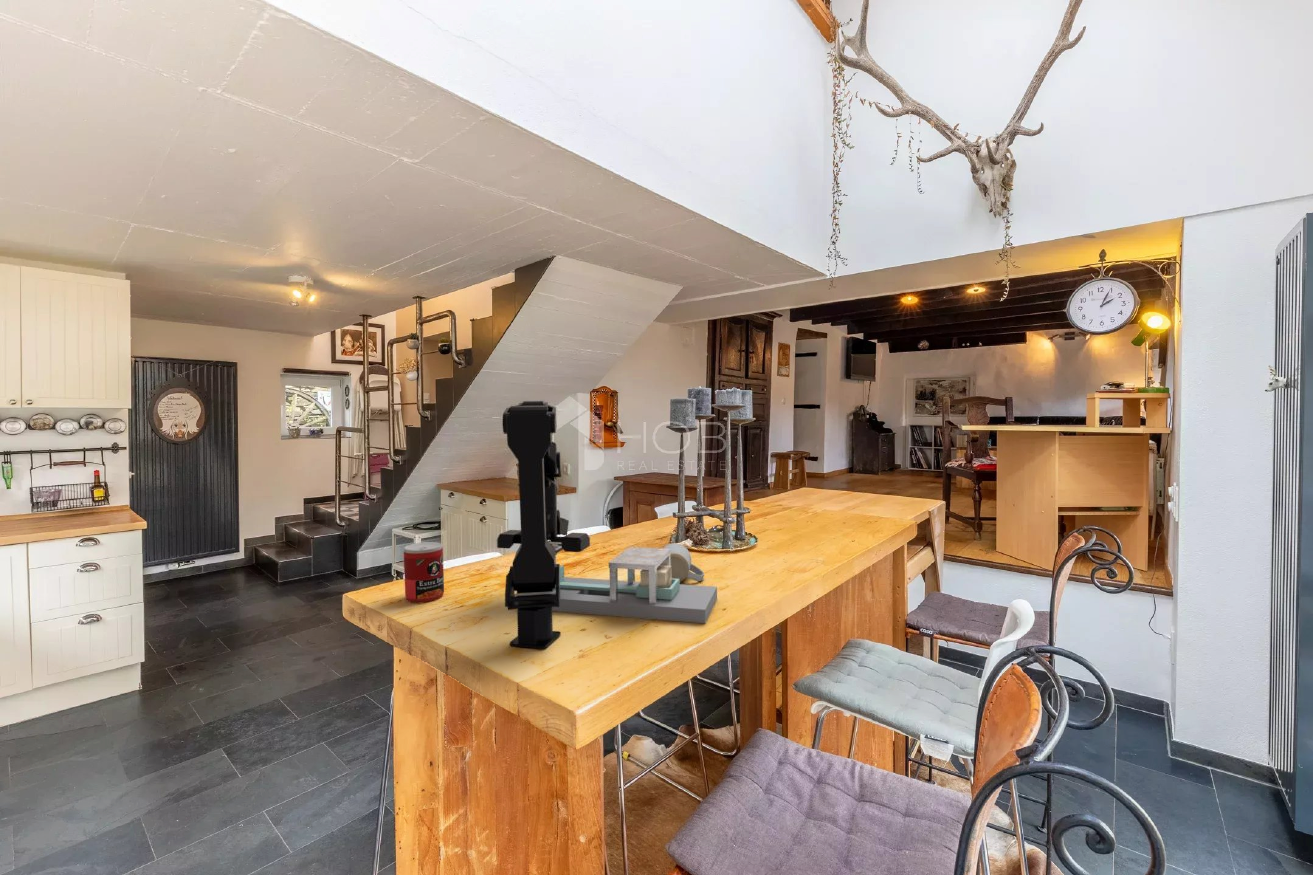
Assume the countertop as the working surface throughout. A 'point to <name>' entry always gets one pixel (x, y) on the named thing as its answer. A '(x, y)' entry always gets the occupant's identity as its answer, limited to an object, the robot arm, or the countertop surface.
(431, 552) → the canned food
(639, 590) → the long teal base
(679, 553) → the ceramic mug
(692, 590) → the slate deck
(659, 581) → the beech block
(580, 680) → the countertop surface
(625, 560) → the grey stone table
